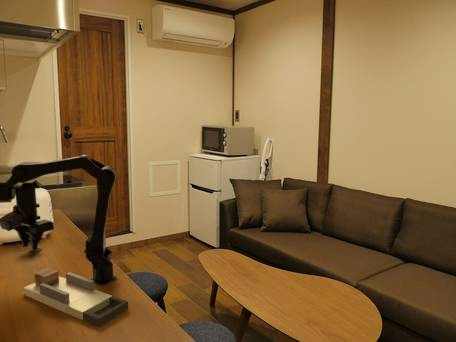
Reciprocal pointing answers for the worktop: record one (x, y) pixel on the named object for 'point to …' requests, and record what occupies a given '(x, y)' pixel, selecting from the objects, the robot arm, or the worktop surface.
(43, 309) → the worktop surface
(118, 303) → the tray
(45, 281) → the walnut block
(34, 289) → the deck
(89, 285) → the lane walls
